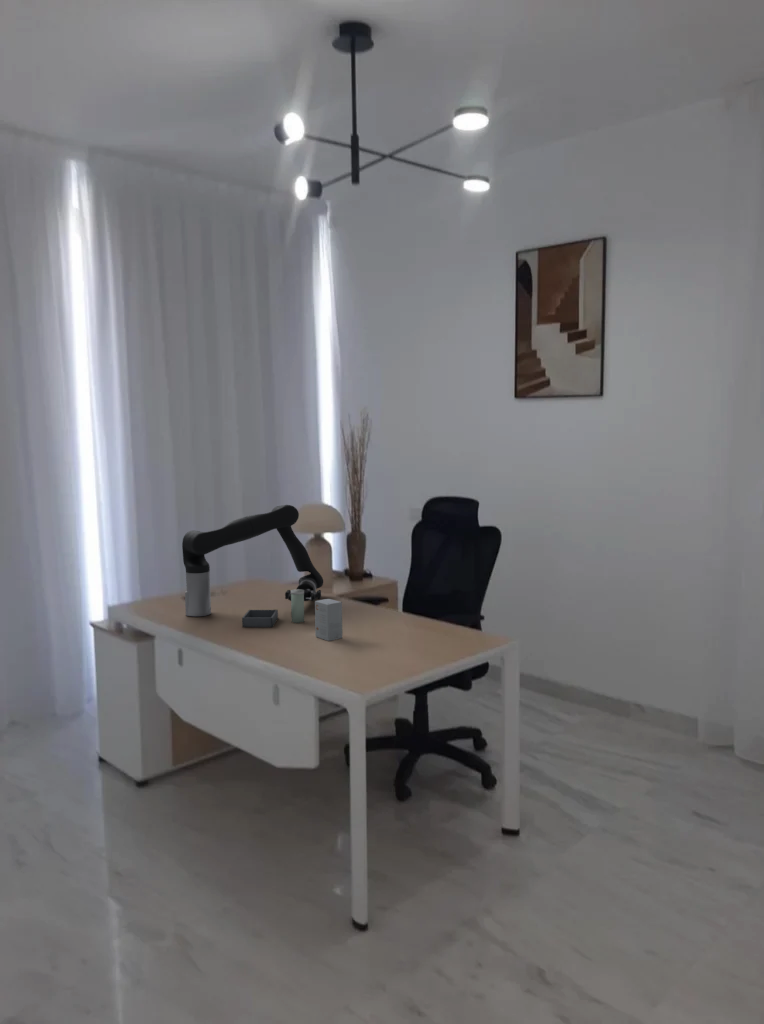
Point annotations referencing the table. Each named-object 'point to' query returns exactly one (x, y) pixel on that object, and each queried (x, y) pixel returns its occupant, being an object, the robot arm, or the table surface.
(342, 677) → the table surface
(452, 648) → the table surface
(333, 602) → the small box
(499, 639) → the table surface
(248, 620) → the tray
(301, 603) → the canister
